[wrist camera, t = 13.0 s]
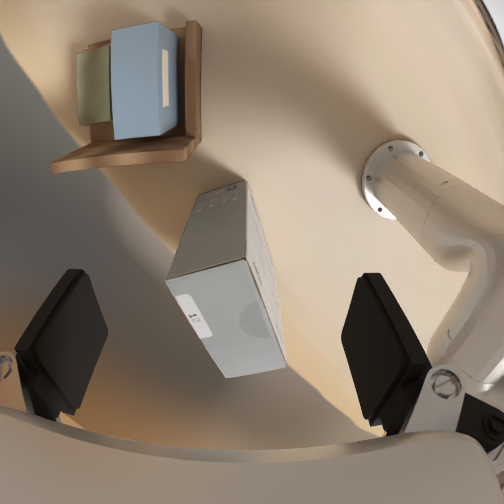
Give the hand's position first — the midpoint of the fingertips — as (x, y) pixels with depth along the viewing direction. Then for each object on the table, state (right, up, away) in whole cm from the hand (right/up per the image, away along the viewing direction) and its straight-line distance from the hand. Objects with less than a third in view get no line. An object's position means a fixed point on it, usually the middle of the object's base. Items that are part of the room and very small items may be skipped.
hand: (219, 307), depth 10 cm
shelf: (-13, +24, +23) cm, 36 cm away
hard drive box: (-1, +5, +35) cm, 35 cm away
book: (-11, +24, +22) cm, 34 cm away
